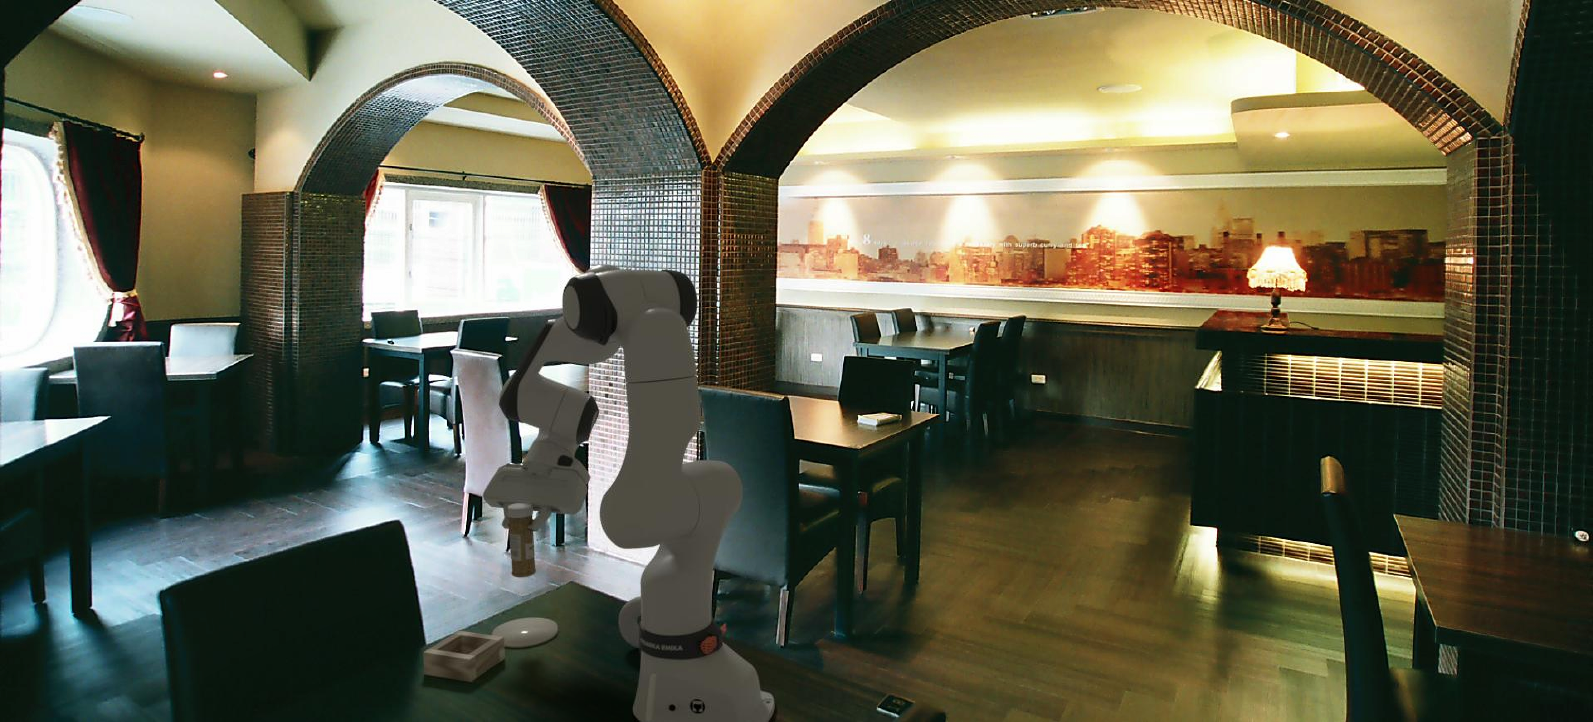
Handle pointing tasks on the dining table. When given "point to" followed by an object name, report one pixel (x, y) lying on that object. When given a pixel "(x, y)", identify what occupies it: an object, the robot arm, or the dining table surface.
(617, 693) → the dining table surface
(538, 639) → the white domed disc
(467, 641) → the holder collar
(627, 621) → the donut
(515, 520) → the sprinkles bottle
